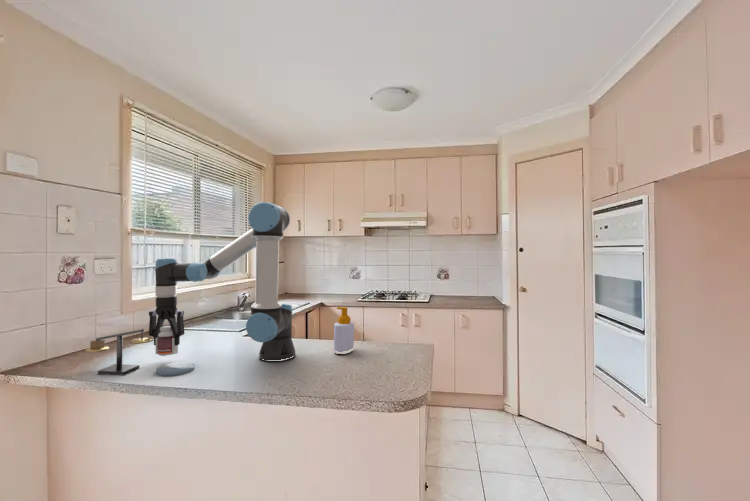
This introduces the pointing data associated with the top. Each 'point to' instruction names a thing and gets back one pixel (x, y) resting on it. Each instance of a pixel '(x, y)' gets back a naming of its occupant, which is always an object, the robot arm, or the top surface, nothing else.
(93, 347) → the balance
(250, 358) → the top surface
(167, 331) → the pill bottle
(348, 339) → the soap bottle
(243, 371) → the top surface
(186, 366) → the dish
